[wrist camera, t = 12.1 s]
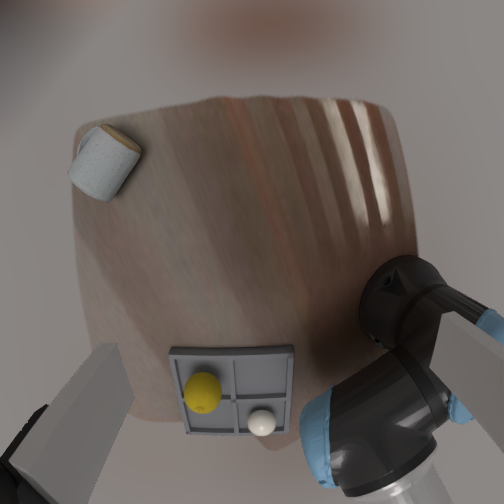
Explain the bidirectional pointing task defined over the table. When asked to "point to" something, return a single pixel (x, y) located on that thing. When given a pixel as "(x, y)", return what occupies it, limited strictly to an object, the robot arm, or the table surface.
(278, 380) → the compartment tray
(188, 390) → the lemon
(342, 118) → the table surface
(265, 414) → the cream egg
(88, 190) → the ceramic mug
